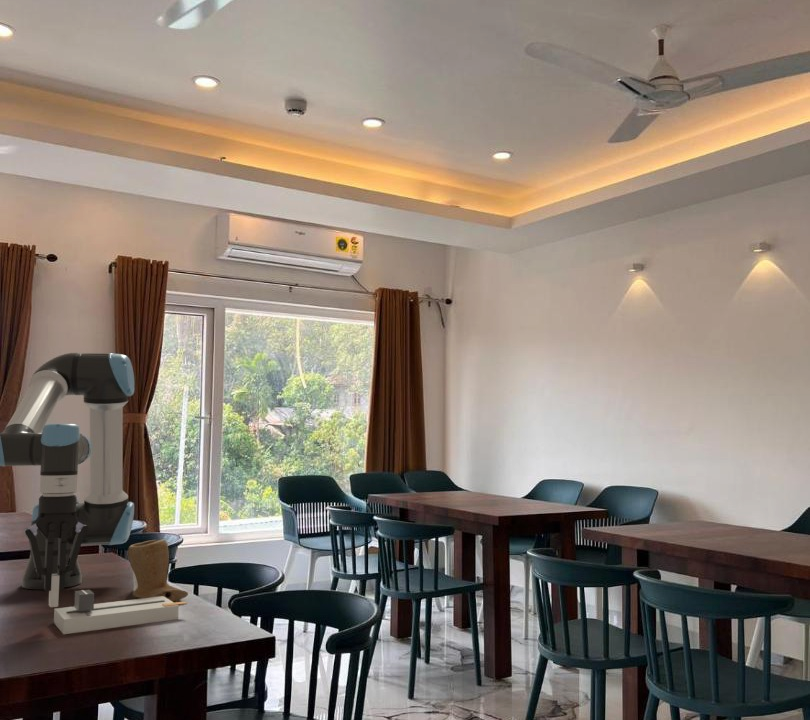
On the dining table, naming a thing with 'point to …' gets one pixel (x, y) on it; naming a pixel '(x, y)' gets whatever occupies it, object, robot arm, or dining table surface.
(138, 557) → the tan boot
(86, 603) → the fader knob
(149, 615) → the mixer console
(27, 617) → the dining table surface
